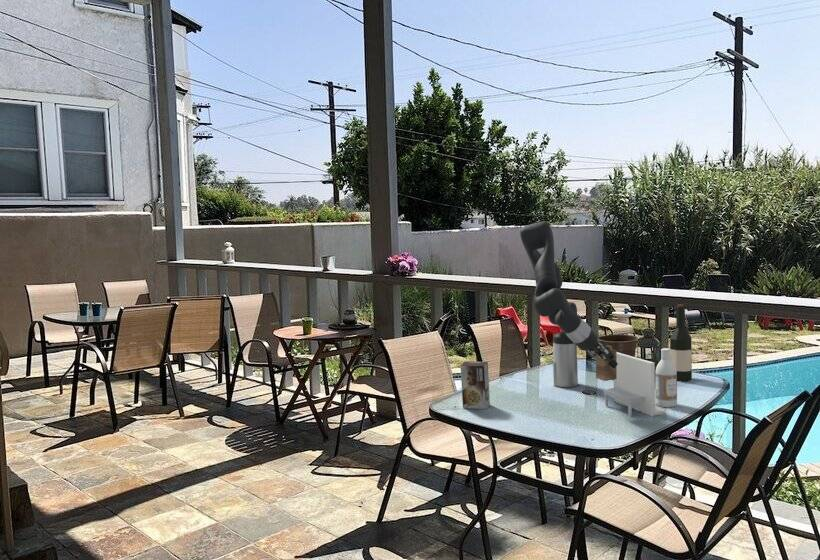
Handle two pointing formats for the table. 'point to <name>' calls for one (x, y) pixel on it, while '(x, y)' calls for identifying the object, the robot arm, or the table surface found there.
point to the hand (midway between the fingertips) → (610, 364)
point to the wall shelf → (634, 385)
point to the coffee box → (475, 385)
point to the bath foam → (666, 381)
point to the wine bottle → (681, 347)
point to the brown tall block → (606, 367)
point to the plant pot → (620, 343)
